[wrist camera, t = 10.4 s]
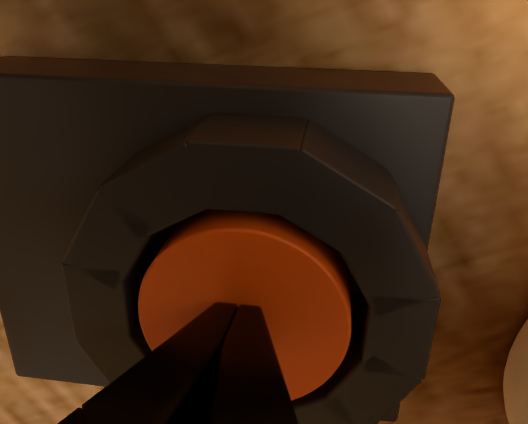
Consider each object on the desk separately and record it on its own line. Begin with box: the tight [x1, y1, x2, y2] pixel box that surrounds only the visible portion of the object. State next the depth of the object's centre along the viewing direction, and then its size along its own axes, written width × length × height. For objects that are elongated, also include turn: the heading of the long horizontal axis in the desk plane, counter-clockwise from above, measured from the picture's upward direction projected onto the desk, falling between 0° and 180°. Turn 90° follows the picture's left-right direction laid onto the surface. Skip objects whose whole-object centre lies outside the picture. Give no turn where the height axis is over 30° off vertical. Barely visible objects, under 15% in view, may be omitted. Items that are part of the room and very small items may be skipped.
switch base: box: [0, 56, 454, 424], centre depth 11 cm, size 10×8×4 cm
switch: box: [138, 209, 351, 401], centre depth 10 cm, size 4×4×2 cm
